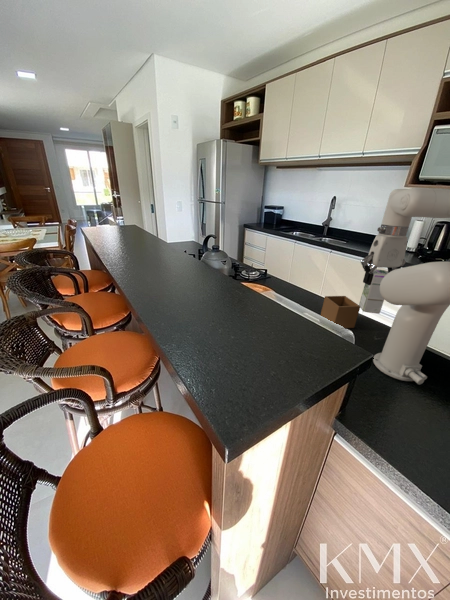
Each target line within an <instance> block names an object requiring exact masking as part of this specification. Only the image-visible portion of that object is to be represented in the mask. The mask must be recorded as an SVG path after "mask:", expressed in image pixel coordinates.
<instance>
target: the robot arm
mask: <svg viewBox="0 0 450 600" xmlns="http://www.w3.org/2000/svg"><path fill="white" fill-rule="evenodd" d="M413 218H430V219H450V188H436V187H435V188H431V187H412V188H396V189H393V190H391V192H390V194H389V196H388V198H387V202H386V206H385V209H384V212H383V216H382V220H381V223H380V226H379V227H377V232H378V234H376V235H375V238H374V239H373V242H372V244H371V246H370V248H369V250H368V251H369V252H368V255H367V256H365V257H363V259H361V260H360V264H361V266H362V269H363V271H364V272H365V273H364V275H363V280H362V283H363V284H364V285H365V284H367V285H371V282H372V278H373V274H372V273H373V272H374V270H375V269H378V268H387V270H386V271H387V272H388V274H386V275H385V276H384V278H383V279H382V281H381V283H380V293H381V295H382V297H383V298H384V301H385V302H387V303H388V304H391V305H393V306H400V307H399V309H398V310H397V312H396V314H395V316H394V319H393V321H392V323H391V324H392V325H391V327H390V330H389V331H388V335H387V337H386V339H385V343H384V345H383V347H382V350H381V352H378V353H376V354H374V356H373V358H374V359H373V358H372V362H373V364H374V365H375V367H376V368H377V369H378V370H379V371H380V372H382V373H383V374H385V375H387V376H389V377H391V378H393V379H395V380H399V381H402V382H403V381H404V382H415V383H416V384H417V385H422V384H423V383H424V382H425V381H426V380H427V379H428V376H427V375H426V374H425V373H423V372H422V371H421V369H422V367H423V365H422V364H421V363H420V362H421V360H422V358H423V356H424V354H425V352H426V349H427V347H428V345H429V342H430V341H431V339H432V336H433V334H434V332H435V330H436V328H437V326H438V324H439V322H440V321H441V320H440V319H441V318H442V316H443V315H444V313H445V312H446V310H447V309H448V308H449V307H450V261H431V262H425V263H424V262H423V263H419V264H414V265H409V266H405V267H403V266H404V265H405V264H406V263H407V261H406V260H405V256H406V250H407V247H408V236H407V234H408V231H409V228H410V225H411V222H412V219H413Z"/></svg>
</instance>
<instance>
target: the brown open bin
mask: <svg viewBox="0 0 450 600" xmlns="http://www.w3.org/2000/svg"><path fill="white" fill-rule="evenodd" d="M360 310H361V308H360V306H359V304H358V303H356V302H355V301H353V300H352V299H351V298H349V297H348V296H346V295H325V296H324V299H323V302H322V307H321V310H320V311H321V312H320V315H321V316H323V317H325V318H327V319H328V320H330V321H333V322H334V323H336V324H339V325H341V326H343V327H344V328H343V329H354V328H355V326H356V323H357V319H358V316H359V313H360Z"/></svg>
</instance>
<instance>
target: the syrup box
mask: <svg viewBox="0 0 450 600" xmlns="http://www.w3.org/2000/svg"><path fill="white" fill-rule="evenodd" d="M387 271H388V270H384V269H380V268H379V269H378V268H376V269H375V270H374V272H373V273H372V274H373V278H372V282H371V285H367V284H365V283H364V285H363V289H362V293H361V296H360V300H359V302H358V303H359V304H358V305H359V306H360V310H362V312H363V313H370V314H378V315H380V314H381V311H382V308H383V304H384V302H385V299H384V298H383V297H382V295H381V293H380V283H381V281H382V279H383V278H384V276H385V275H386V274H388V272H387Z"/></svg>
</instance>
